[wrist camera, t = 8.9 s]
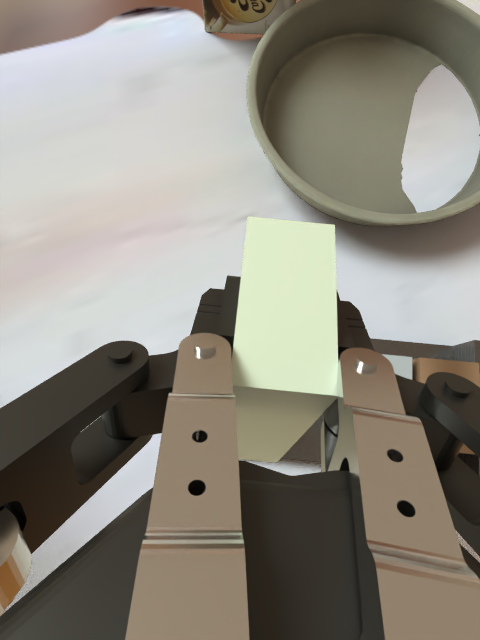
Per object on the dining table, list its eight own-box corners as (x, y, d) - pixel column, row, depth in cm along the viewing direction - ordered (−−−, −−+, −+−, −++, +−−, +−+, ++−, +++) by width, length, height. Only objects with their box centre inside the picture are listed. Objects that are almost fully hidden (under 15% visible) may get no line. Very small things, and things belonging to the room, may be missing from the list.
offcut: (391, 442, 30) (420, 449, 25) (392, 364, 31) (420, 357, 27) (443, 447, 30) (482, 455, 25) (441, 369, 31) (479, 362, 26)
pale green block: (227, 457, 19) (228, 385, 9) (236, 364, 22) (247, 216, 11) (276, 462, 19) (338, 396, 9) (281, 368, 22) (334, 224, 11)
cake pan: (329, 292, 34) (343, 275, 30) (201, 83, 39) (196, 42, 34) (551, 173, 37) (594, 141, 32) (406, -9, 41) (426, -59, 37)
